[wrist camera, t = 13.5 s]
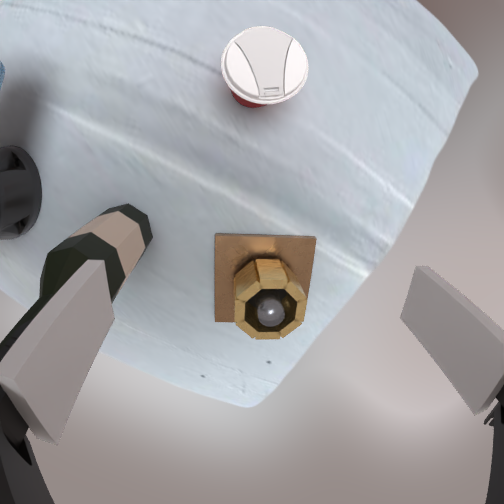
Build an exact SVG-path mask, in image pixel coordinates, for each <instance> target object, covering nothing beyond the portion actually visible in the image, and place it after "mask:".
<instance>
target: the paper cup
mask: <svg viewBox="0 0 504 504" xmlns="http://www.w3.org/2000/svg"><path fill="white" fill-rule="evenodd" d="M221 70H222V75H223V77H224V80H225V81H226V83H227V85H228V86H229V87H230V89H231V92H232V94H233V96H234V98H235V99H236V100H237V101H238V102H239V103H240V104H242V105H244V106H246V107H250V108H257V107H261V106H264V105H267V104H275V103H280V102H283V101H285V100H287V99H290V98H291V97H293V96H294V95H295V94H296V93H298V92H299V91H300V89H301V88H302V87H303V85H304V83H305V81H306V79H307V75H308V60H307V56H306V54H305V52H304V50H303V48H302V47H301V45H300V44H299V43H298V42H297V40H296V39H294V38H293V37H291V36H290V35H288V34H286V33H284V32H282V31H280V30H278V29H275V28H272V27H267V26H258V27H251V28H248V29H246V30H244V31H243V32H241V33H240V34H238V35H236V36H235V37H234V38H233V39H232V40H231V41H230V42H229V43H228V44H227V46H226V47H225V49H224V51H223V54H222V58H221Z"/></svg>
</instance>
